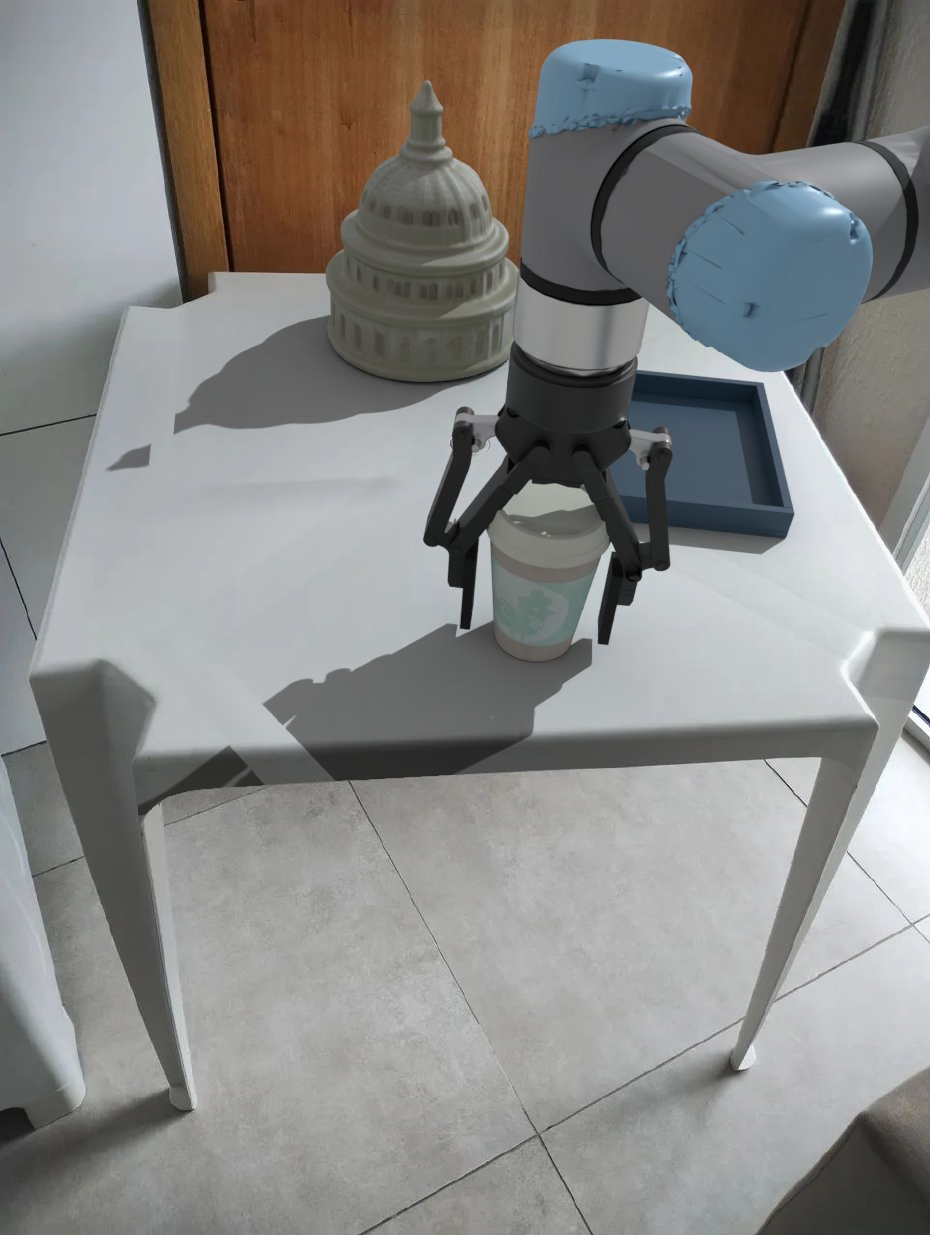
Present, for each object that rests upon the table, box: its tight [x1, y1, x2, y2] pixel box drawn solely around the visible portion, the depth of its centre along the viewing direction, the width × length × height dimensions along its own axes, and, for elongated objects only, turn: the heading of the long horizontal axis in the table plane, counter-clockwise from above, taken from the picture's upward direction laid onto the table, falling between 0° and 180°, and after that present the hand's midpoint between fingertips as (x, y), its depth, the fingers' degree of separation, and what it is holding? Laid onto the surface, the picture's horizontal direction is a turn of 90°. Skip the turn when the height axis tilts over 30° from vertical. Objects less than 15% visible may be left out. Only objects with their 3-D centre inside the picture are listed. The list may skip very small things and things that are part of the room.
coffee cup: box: [485, 479, 612, 663], centre depth 70 cm, size 9×8×12 cm
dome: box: [325, 80, 519, 383], centre depth 98 cm, size 20×25×20 cm
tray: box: [609, 369, 795, 539], centre depth 92 cm, size 22×18×3 cm
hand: (534, 624), depth 74 cm, fingers open, 9 cm apart
